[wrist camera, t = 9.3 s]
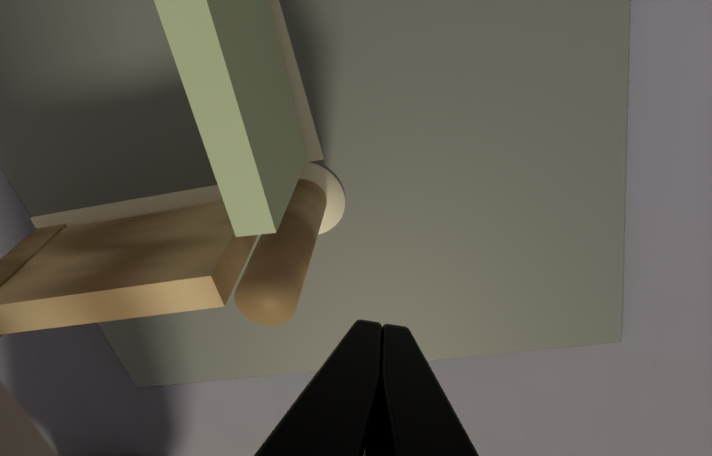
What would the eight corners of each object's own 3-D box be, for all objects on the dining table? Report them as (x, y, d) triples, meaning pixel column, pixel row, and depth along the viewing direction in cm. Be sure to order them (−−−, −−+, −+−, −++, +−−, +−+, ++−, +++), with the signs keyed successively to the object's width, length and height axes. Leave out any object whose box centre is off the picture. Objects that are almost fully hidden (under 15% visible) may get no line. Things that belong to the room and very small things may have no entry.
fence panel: (309, 158, 19) (272, 248, 14) (272, 163, 19) (224, 253, 15) (229, -176, 14) (130, -213, 9) (180, -163, 15) (60, -194, 10)
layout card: (140, 381, 28) (136, 389, 27) (-139, -77, 17) (-153, -76, 17) (618, 335, 23) (622, 343, 23) (632, -329, 13) (639, -337, 12)
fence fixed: (61, 253, 24) (-47, 362, 18) (40, 218, 23) (-81, 321, 17) (333, 210, 21) (304, 321, 16) (321, 169, 20) (285, 272, 15)
